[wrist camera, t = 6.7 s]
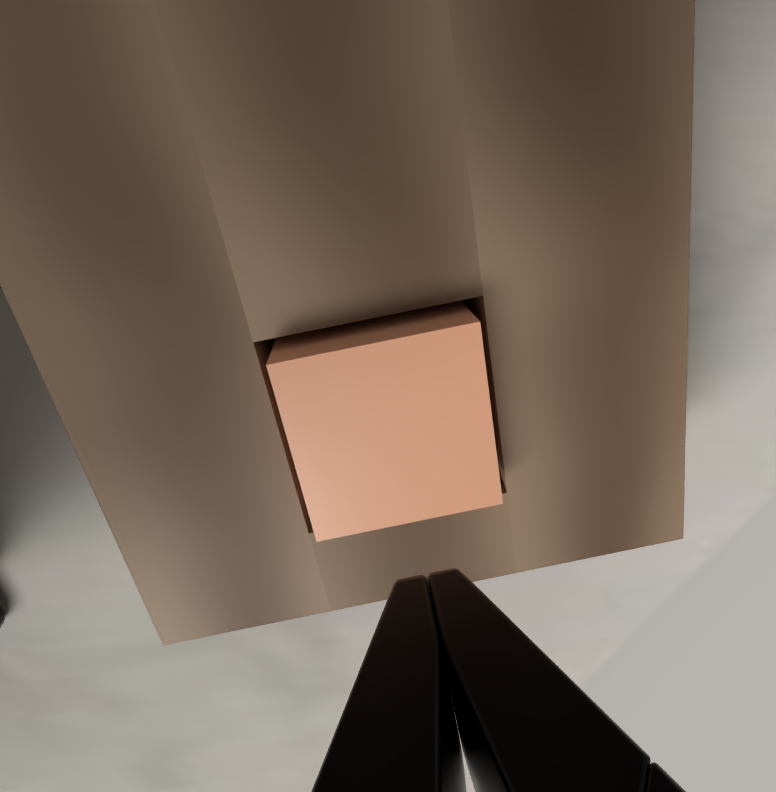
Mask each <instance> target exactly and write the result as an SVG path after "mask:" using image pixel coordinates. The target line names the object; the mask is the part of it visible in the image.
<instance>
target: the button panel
mask: <svg viewBox="0 0 776 792" xmlns="http://www.w3.org/2000/svg"><path fill="white" fill-rule="evenodd" d="M694 13H695V0H0V286H1V288H2V290H3V292H4V295H5V297H6V299H7V301H8V303H9V306H10V308H11V310H12V312H13V314H14V317H15V319H16V321H17V323H18V326H19V328H20V330H21V332H22V334H23V337H24V339H25V341H26V343H27V345H28V348H29V350H30V352H31V354H32V356H33V359H34V361H35V363H36V365H37V367H38V370H39V372H40V374H41V376H42V379H43V381H44V383H45V385H46V387H47V390H48V392H49V394H50V396H51V398H52V401H53V403H54V405H55V407H56V409H57V412H58V414H59V416H60V418H61V421H62V423H63V425H64V427H65V429H66V432H67V434H68V436H69V438H70V440H71V443H72V445H73V447H74V449H75V451H76V454H77V456H78V458H79V460H80V462H81V465H82V467H83V469H84V471H85V474H86V476H87V478H88V480H89V482H90V485H91V487H92V489H93V491H94V493H95V496H96V498H97V500H98V502H99V504H100V507H101V509H102V511H103V513H104V516H105V518H106V520H107V522H108V524H109V527H110V529H111V531H112V533H113V535H114V538H115V540H116V542H117V544H118V546H119V549H120V551H121V553H122V555H123V557H124V560H125V562H126V564H127V566H128V569H129V571H130V573H131V575H132V577H133V580H134V582H135V584H136V586H137V588H138V591H139V593H140V595H141V597H142V599H143V602H144V604H145V606H146V608H147V611H148V613H149V615H150V617H151V619H152V622H153V624H154V626H155V628H156V630H157V633H158V635H159V637H160V639H161V641H162V644H163V645H167V644H172V643H177V642H182V641H187V640H192V639H197V638H202V637H206V636H211V635H216V634H221V633H226V632H231V631H236V630H240V629H245V628H250V627H255V626H260V625H265V624H270V623H274V622H279V621H284V620H289V619H294V618H299V617H304V616H309V615H313V614H318V613H323V612H328V611H333V610H338V609H343V608H347V607H352V606H357V605H362V604H367V603H372V602H377V601H382V600H386V599H388V597H389V595H390V592H391V590H392V587H393V585H394V583H395V581H396V580H397V579H400V578H404V577H409V576H414V575H419V574H423V575H425V576H426V577H428V574H429V573H431V572H434V571H439V570H444V569H449V568H457V569H459V570H460V571H461V572H462V573H463V574H464V575H465V576H466V577H467V578H468V579H469V580H470V581H471V582H474V581H479V580H484V579H489V578H493V577H498V576H503V575H508V574H513V573H518V572H523V571H527V570H532V569H537V568H542V567H547V566H552V565H557V564H562V563H566V562H571V561H576V560H581V559H586V558H591V557H596V556H600V555H605V554H610V553H615V552H620V551H625V550H630V549H634V548H639V547H644V546H649V545H654V544H659V543H664V542H669V541H673V540H678V539H683V526H684V480H685V433H686V387H687V340H688V293H689V247H690V200H691V153H692V107H693V60H694ZM455 301H461V302H462V303H463V304H464V305H465V306H466V307H467V308H468V309H469V310H470V311H471V312H472V313H473V314H474V316H475V317H476V318H477V319H478V320H479V321H480V324H481V332H482V340H483V348H484V356H485V364H486V372H487V380H488V388H489V396H490V404H491V412H492V420H493V428H494V436H495V444H496V452H497V460H498V468H499V476H500V484H501V492H502V499H503V504H499V505H494V506H489V507H485V508H480V509H475V510H470V511H465V512H460V513H455V514H450V515H445V516H441V517H436V518H431V519H426V520H421V521H416V522H411V523H406V524H402V525H397V526H392V527H387V528H382V529H377V530H372V531H367V532H362V533H358V534H353V535H348V536H343V537H338V538H333V539H328V540H323V541H319V542H316V538H315V535H314V531H313V528H312V524H311V521H310V517H309V514H308V510H307V507H306V503H305V500H304V496H303V493H302V489H301V486H300V482H299V479H298V475H297V472H296V468H295V465H294V461H293V458H292V454H291V451H290V447H289V444H288V440H287V437H286V433H285V430H284V426H283V423H282V419H281V416H280V412H279V409H278V405H277V402H276V398H275V395H274V391H273V388H272V384H271V381H270V377H269V374H268V370H267V367H266V364H267V361H268V359H269V356H270V353H271V351H272V348H273V345H274V343H275V340H276V338H277V337H282V336H287V335H292V334H297V333H302V332H307V331H311V330H316V329H321V328H326V327H331V326H336V325H341V324H346V323H351V322H356V321H361V320H366V319H371V318H376V317H381V316H386V315H390V314H395V313H400V312H405V311H410V310H415V309H420V308H425V307H430V306H435V305H440V304H445V303H450V302H455ZM427 581H428V578H427ZM428 585H429V584H428ZM429 590H430V589H429Z"/></svg>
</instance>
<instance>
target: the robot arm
mask: <svg viewBox="0 0 776 792" xmlns="http://www.w3.org/2000/svg"><path fill="white" fill-rule="evenodd" d="M427 578H428V581H427ZM428 584H429V585H428ZM429 589H430V590H429ZM430 594H431V595H430ZM4 619H5V617H4V614H3V612H2V610H1V608H0V627H1V625H2V624H3V623H4ZM450 692H451V693H450ZM451 697H452V698H451ZM452 702H453V703H452ZM453 707H454V708H453ZM454 712H455V713H454ZM455 716H456V718H455ZM456 721H457V723H456ZM457 726H458V728H457ZM458 731H459V733H458ZM459 735H460V739H459ZM460 740H461V744H462V748H463V752H464V756H465V759H466V763H467V766H468V769H469V773H470V776H471V779H472V782H473V785H474V788H475V791H476V792H686V791H685V790H683V789H682V788H681V787H680V786H679V785H678V784H677V783H676V782H675V781H674V780H673V779H672V778H671V777H670V776H669V775H668V774H667V773H666V772H665V771H664V770H663V769H662V768H661V767H660V766H659V765H658V764H657V763H651V764H650V757H649V756H648V755H647V754H646V753H645V752H644V751H643V750H642V749H641V748H640V747H639V746H638V745H637V744H636V743H635V742H634V741H633V740H632V739H631V738H630V737H629V736H628V735H627V734H626V733H625V732H624V731H623V730H622V729H621V728H620V727H619V726H618V725H617V724H616V723H615V722H613V720H612V719H611V718H610V717H609V716H608V715H607V714H606V713H605V712H604V711H603V710H602V709H600V707H599V706H598V705H596V703H595V702H593V701H592V700H591V699H590V698H589V697H588V696H587V695H586V694H585V693H584V692H583V691H582V690H581V689H580V688H579V687H578V686H577V685H576V684H575V683H574V682H573V681H572V680H571V679H570V678H569V677H568V676H567V675H566V674H565V673H564V672H563V671H562V670H561V669H560V668H559V667H558V666H557V665H556V664H555V663H554V662H553V661H552V660H551V659H550V658H549V657H548V656H547V655H546V654H545V653H544V652H543V651H542V650H541V649H540V648H539V647H538V646H537V645H535V644H534V643H533V642H532V641H531V640H530V639H529V638H528V637H527V636H526V635H525V634H524V633H523V632H522V631H521V630H520V629H519V628H518V627H517V626H516V625H515V624H514V623H513V622H512V621H511V620H510V619H509V618H508V617H507V616H506V615H505V614H504V613H503V612H502V611H501V610H500V609H499V608H498V607H497V606H496V605H495V604H494V603H493V602H492V601H491V600H490V599H489V598H488V597H487V596H486V595H485V594H484V593H483V592H482V591H481V590H479V589H478V588H477V587H476V586H475V585H474V584H473V583H472V582H471V581H470V580H469V579H468V578H467V577H466V576H465V575H464V574H463V573H462V572H461V571H460V570H459V569H457V568H449V569H444V570H439V571H434V572H431V573H429V574H428V577H426V576H425V575H423V574H419V575H414V576H409V577H404V578H400V579H397V580H396V581H395V583H394V585H393V587H392V590H391V592H390V595H389V597H388V600H387V602H386V605H385V607H384V610H383V613H382V615H381V618H380V620H379V623H378V625H377V628H376V630H375V633H374V635H373V638H372V640H371V643H370V645H369V648H368V650H367V653H366V655H365V658H364V660H363V663H362V666H361V668H360V671H359V673H358V676H357V678H356V681H355V683H354V686H353V688H352V691H351V693H350V696H349V698H348V701H347V703H346V706H345V708H344V711H343V713H342V716H341V719H340V721H339V724H338V726H337V729H336V731H335V734H334V736H333V739H332V741H331V744H330V746H329V749H328V751H327V754H326V756H325V759H324V761H323V764H322V766H321V769H320V772H319V774H318V777H317V779H316V782H315V784H314V787H313V789H312V792H466V783H465V773H464V765H463V756H462V750H461V744H460Z"/></svg>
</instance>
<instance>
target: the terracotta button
mask: <svg viewBox="0 0 776 792" xmlns="http://www.w3.org/2000/svg"><path fill="white" fill-rule="evenodd" d="M266 367H267V370H268V374H269V377H270V381H271V384H272V388H273V391H274V395H275V398H276V402H277V405H278V409H279V412H280V416H281V419H282V423H283V426H284V430H285V433H286V437H287V440H288V444H289V447H290V451H291V454H292V458H293V461H294V465H295V468H296V472H297V475H298V479H299V482H300V486H301V489H302V493H303V496H304V500H305V503H306V507H307V510H308V514H309V517H310V521H311V524H312V528H313V531H314V535H315V538H316V542H319V541H323V540H328V539H333V538H338V537H343V536H348V535H353V534H358V533H362V532H367V531H372V530H377V529H382V528H387V527H392V526H397V525H402V524H406V523H411V522H416V521H421V520H426V519H431V518H436V517H441V516H445V515H450V514H455V513H460V512H465V511H470V510H475V509H480V508H485V507H489V506H494V505H499V504H503V499H502V492H501V484H500V476H499V468H498V460H497V452H496V444H495V436H494V428H493V420H492V412H491V404H490V396H489V388H488V380H487V372H486V364H485V356H484V348H483V340H482V332H481V324H480V321H479V320H478V319H477V318H476V317H475V316H474V314H473V313H472V312H471V311H470V310H469V309H468V308H467V307H466V306H465V305H464V304H463V303H462V302H461V301H455V302H450V303H445V304H440V305H435V306H430V307H425V308H420V309H415V310H410V311H405V312H400V313H395V314H390V315H386V316H381V317H376V318H371V319H366V320H361V321H356V322H351V323H346V324H341V325H336V326H331V327H326V328H321V329H316V330H311V331H307V332H302V333H297V334H292V335H287V336H282V337H277V338H276V340H275V343H274V345H273V348H272V351H271V353H270V356H269V359H268V361H267V364H266Z"/></svg>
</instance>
